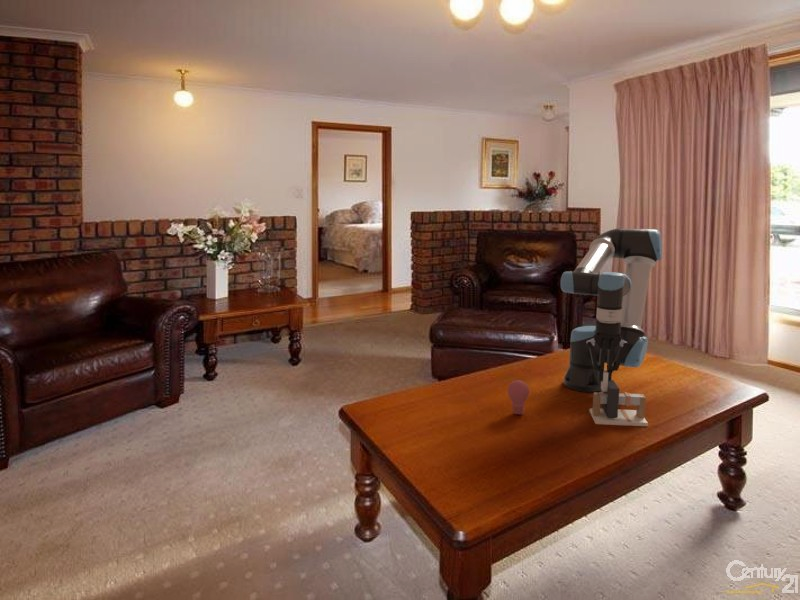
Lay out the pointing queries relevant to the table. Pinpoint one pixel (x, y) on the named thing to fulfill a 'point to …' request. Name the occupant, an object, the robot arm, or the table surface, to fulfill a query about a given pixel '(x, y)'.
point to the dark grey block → (611, 400)
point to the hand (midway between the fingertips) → (604, 390)
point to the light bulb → (518, 395)
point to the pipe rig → (620, 410)
